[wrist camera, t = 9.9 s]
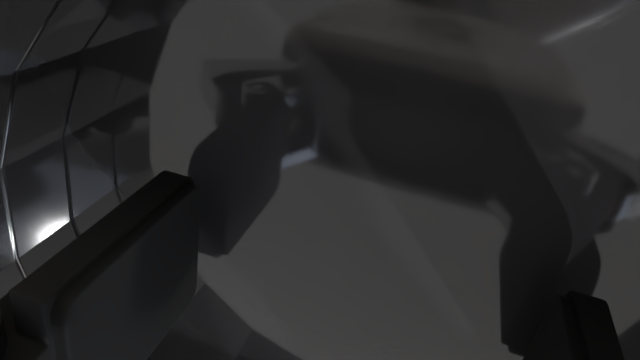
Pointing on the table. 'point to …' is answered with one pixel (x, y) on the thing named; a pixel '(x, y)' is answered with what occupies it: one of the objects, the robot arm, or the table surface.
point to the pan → (340, 163)
